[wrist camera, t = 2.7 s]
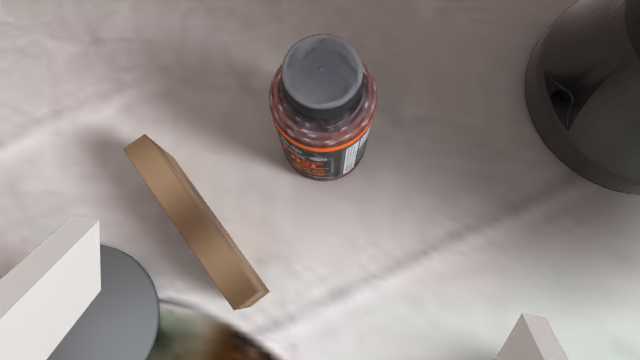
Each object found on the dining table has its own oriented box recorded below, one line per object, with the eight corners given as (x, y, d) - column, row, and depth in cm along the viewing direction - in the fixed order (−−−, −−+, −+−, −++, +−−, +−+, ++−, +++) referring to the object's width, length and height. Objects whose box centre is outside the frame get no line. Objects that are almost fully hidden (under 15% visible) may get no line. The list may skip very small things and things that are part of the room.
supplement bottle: (268, 160, 31) (235, 91, 20) (308, 93, 33) (296, -5, 22) (341, 198, 31) (346, 148, 20) (379, 128, 32) (404, 44, 21)
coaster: (76, 218, 31) (70, 217, 30) (189, 296, 29) (185, 297, 28) (-20, 344, 29) (-30, 346, 28) (95, 435, 27) (88, 439, 27)
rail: (155, 170, 31) (122, 149, 27) (173, 157, 32) (144, 134, 27) (250, 306, 29) (233, 310, 24) (269, 291, 29) (257, 292, 24)
